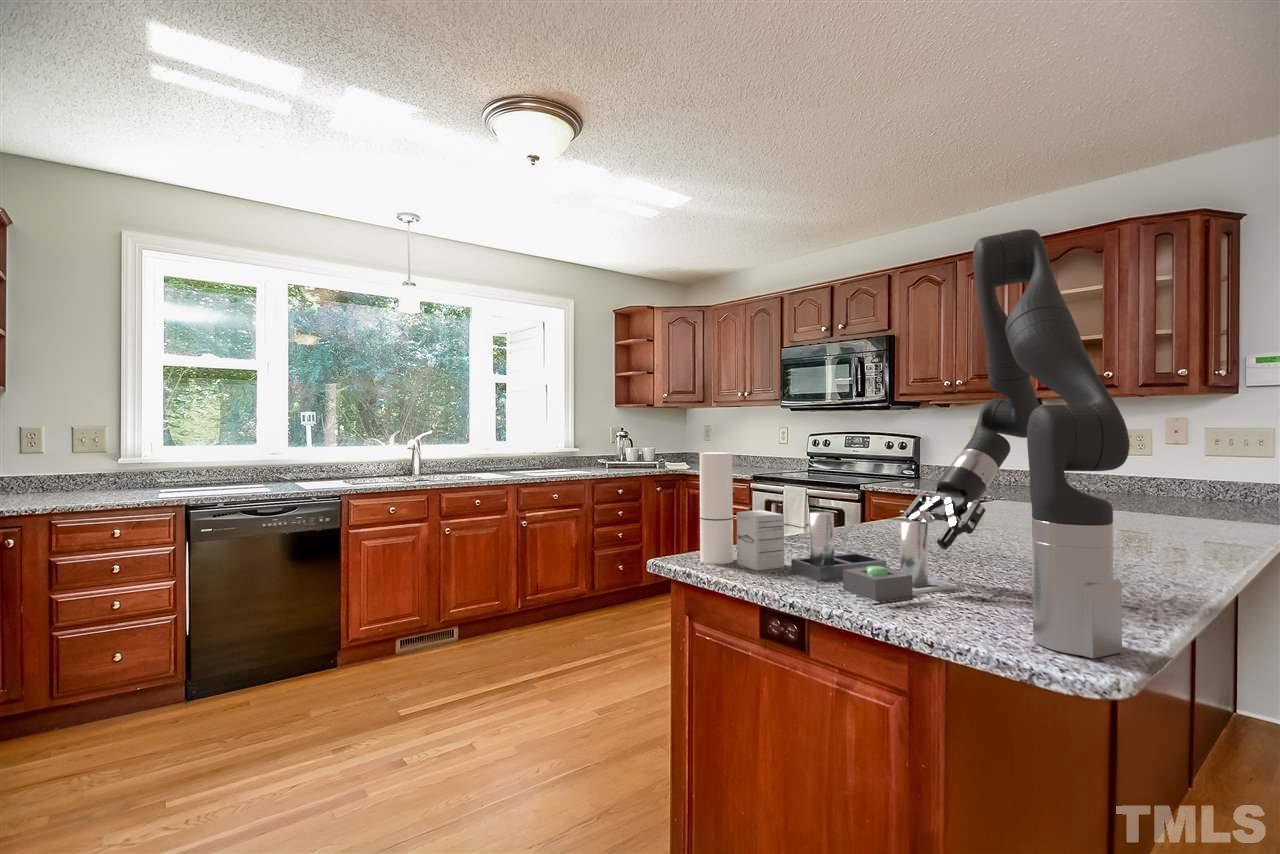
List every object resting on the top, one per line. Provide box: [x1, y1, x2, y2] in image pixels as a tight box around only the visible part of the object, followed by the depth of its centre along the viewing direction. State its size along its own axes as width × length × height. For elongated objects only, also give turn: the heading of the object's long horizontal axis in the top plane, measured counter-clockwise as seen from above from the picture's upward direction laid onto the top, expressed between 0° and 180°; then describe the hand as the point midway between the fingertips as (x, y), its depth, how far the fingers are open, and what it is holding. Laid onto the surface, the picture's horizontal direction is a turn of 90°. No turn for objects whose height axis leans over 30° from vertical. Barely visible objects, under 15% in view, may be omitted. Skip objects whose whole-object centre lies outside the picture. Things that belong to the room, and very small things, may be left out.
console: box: [842, 567, 914, 606], centre depth 109 cm, size 8×8×5 cm
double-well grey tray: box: [790, 552, 888, 583], centre depth 125 cm, size 9×16×4 cm, turn 112°
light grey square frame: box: [912, 576, 958, 595], centre depth 115 cm, size 10×10×2 cm
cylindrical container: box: [699, 451, 734, 565], centre depth 137 cm, size 7×7×25 cm
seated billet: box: [809, 511, 835, 566], centre depth 123 cm, size 5×5×12 cm
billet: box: [899, 520, 929, 589], centre depth 115 cm, size 5×5×12 cm
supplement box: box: [736, 509, 785, 571], centre depth 132 cm, size 7×7×13 cm
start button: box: [867, 566, 888, 576], centre depth 109 cm, size 3×3×3 cm
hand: (922, 542), depth 116 cm, fingers open, 8 cm apart
